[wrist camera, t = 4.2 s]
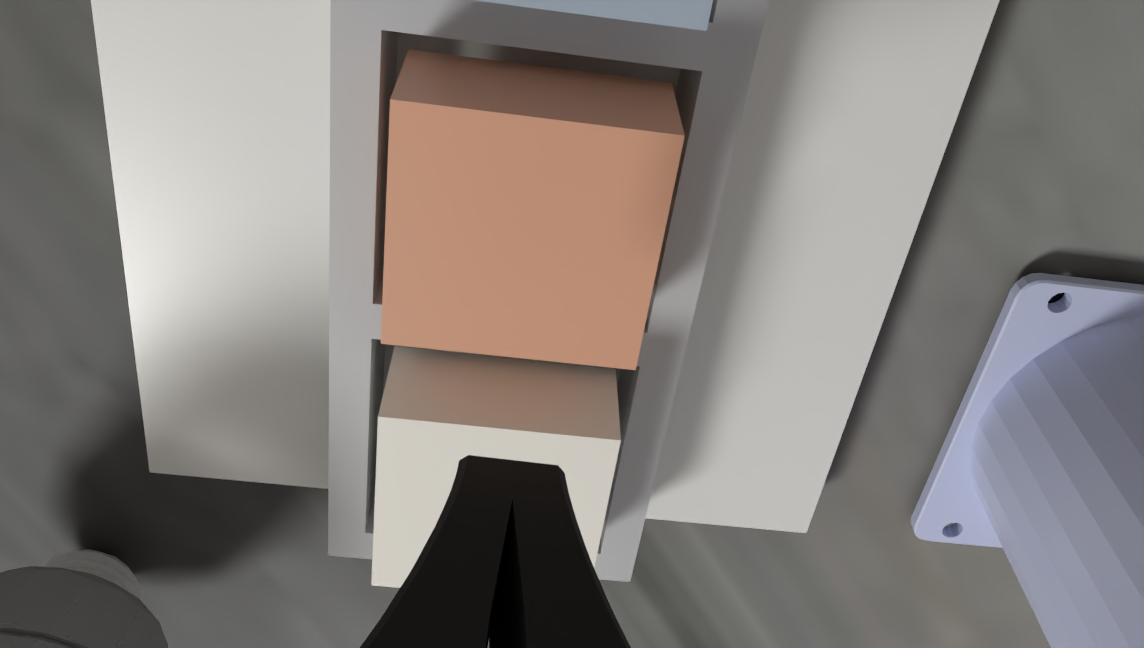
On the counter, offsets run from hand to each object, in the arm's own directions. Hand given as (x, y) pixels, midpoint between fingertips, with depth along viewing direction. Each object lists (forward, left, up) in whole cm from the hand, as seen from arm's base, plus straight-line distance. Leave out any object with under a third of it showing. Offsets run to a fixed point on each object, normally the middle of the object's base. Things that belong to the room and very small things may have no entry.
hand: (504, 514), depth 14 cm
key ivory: (0, +4, -6) cm, 8 cm away
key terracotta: (0, -2, -6) cm, 7 cm away
